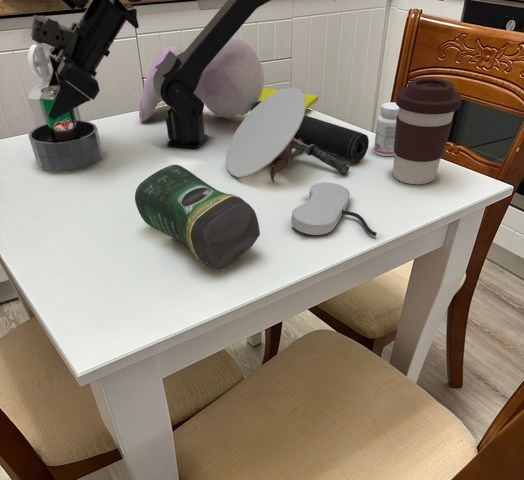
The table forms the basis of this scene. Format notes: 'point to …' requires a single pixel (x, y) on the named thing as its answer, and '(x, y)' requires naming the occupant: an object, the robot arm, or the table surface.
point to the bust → (217, 81)
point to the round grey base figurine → (267, 134)
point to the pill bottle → (386, 129)
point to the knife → (323, 156)
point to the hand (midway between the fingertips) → (48, 110)
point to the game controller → (324, 210)
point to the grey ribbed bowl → (66, 148)
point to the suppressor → (332, 138)
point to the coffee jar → (197, 215)
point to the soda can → (59, 118)
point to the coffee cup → (423, 128)
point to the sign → (267, 91)
